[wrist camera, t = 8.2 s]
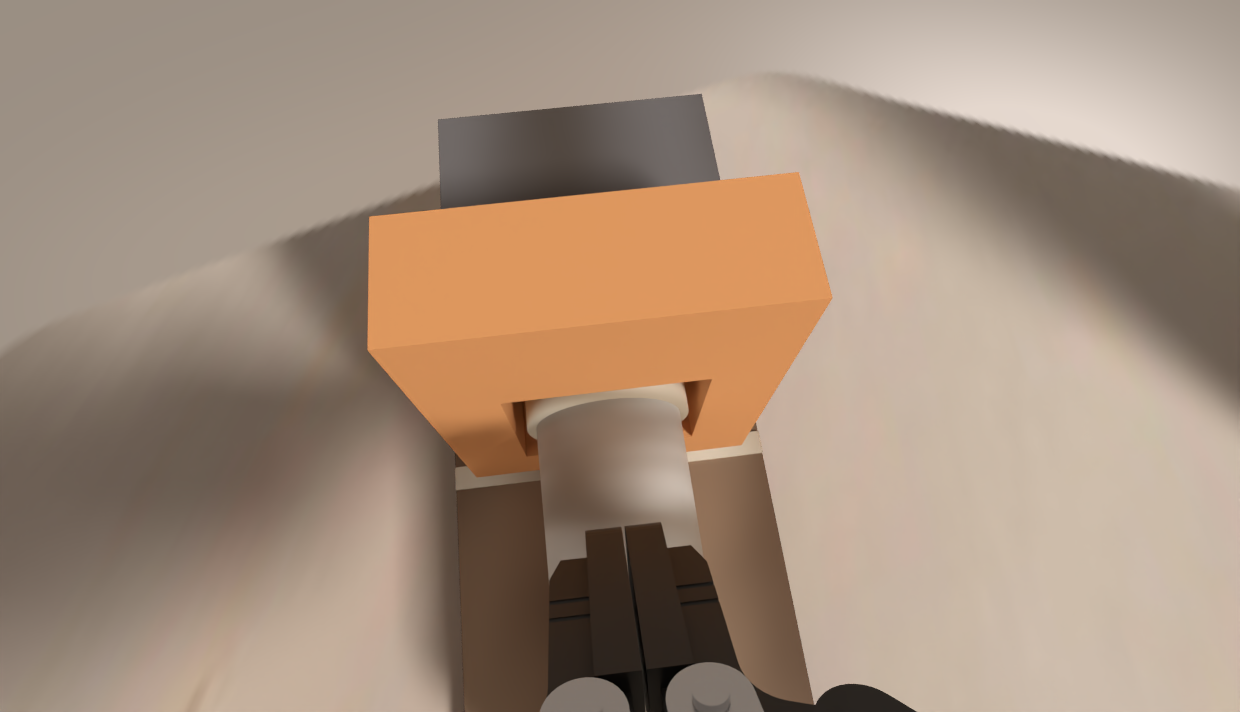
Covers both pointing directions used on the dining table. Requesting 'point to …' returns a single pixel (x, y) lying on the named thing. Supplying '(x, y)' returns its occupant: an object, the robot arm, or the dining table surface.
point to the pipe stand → (605, 429)
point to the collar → (595, 306)
